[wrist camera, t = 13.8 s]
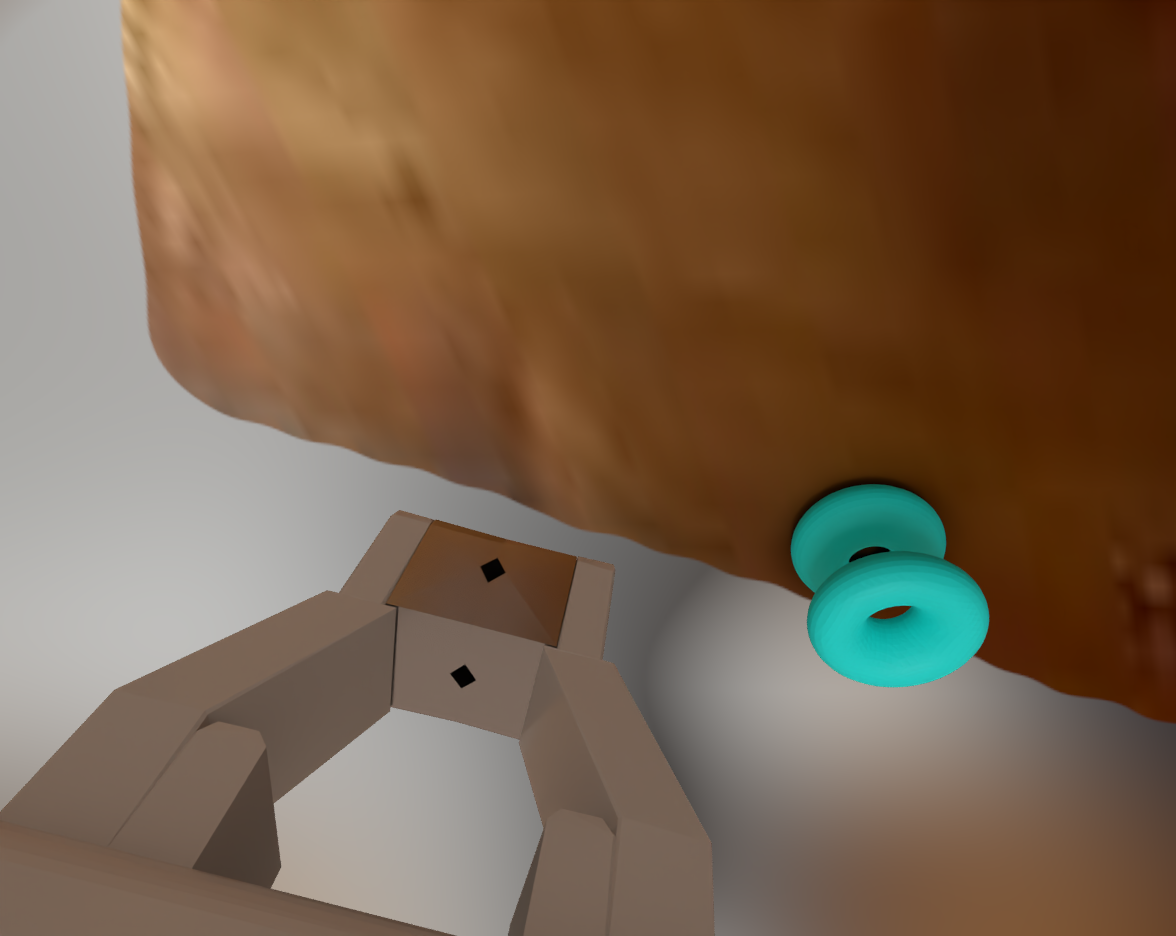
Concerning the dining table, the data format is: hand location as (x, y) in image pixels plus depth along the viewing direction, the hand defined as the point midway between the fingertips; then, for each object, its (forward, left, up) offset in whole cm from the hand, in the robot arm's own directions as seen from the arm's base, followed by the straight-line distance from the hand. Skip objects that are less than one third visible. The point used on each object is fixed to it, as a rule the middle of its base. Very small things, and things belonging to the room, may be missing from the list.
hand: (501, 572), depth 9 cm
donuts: (-21, +18, -31) cm, 42 cm away
